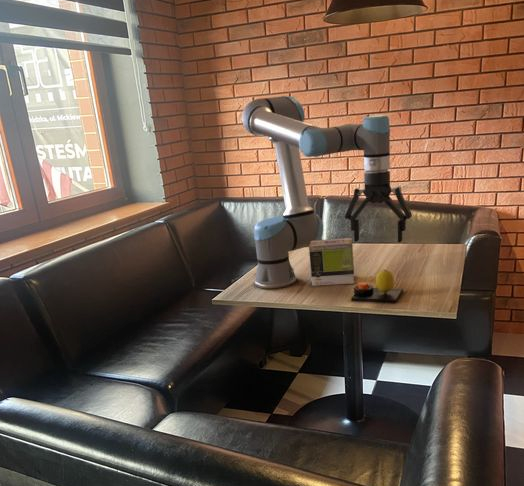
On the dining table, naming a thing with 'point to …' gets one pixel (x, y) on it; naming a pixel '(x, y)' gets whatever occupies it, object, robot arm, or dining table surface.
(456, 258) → the dining table surface
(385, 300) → the scale
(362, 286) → the button
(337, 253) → the tea box
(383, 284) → the lemon
